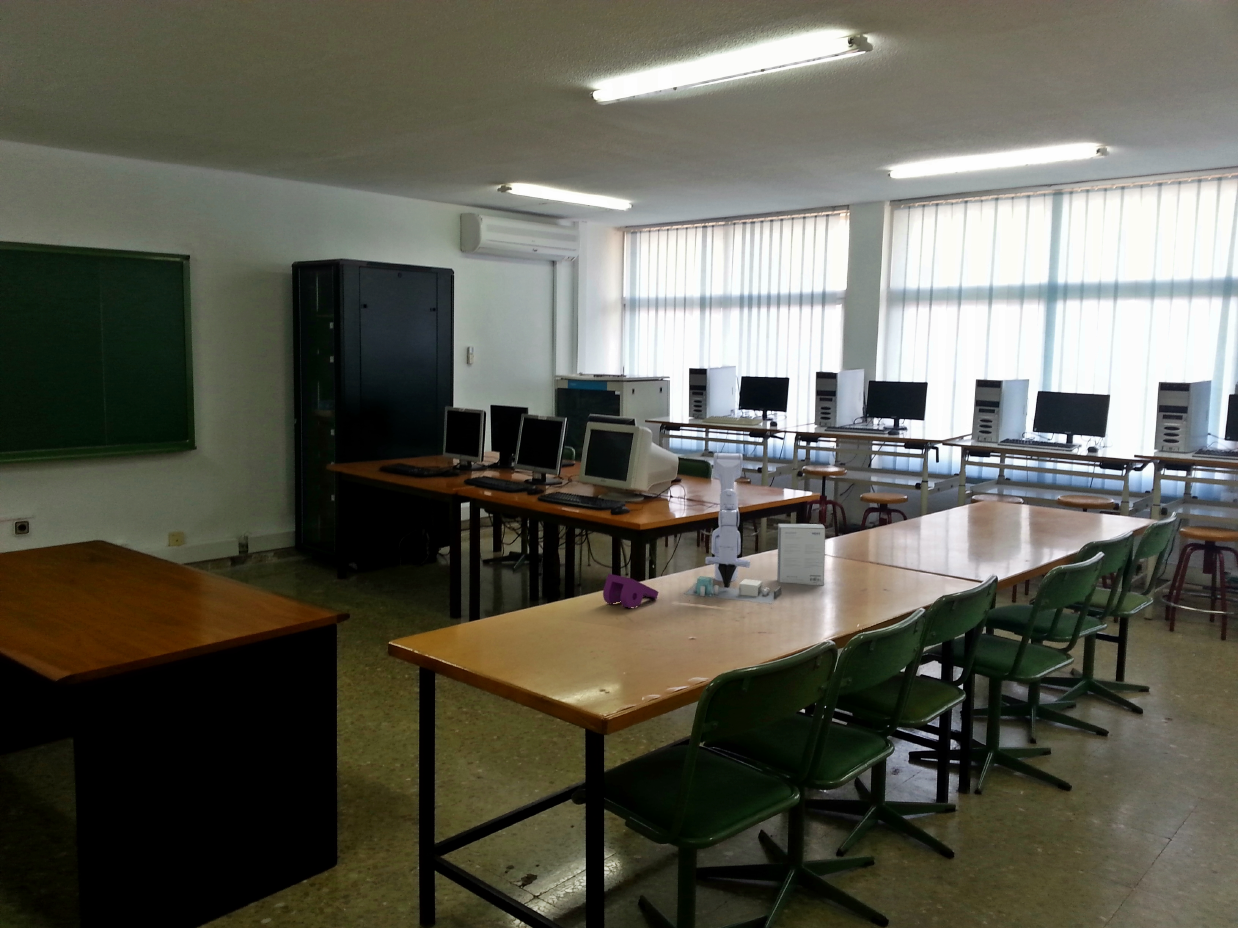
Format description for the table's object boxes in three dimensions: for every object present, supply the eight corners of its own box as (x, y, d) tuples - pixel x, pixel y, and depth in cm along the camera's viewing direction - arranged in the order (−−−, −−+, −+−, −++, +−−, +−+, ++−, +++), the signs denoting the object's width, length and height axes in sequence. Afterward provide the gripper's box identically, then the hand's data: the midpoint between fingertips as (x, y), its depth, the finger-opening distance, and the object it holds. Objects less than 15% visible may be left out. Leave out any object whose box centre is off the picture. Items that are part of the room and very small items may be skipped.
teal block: (700, 591, 304) (700, 576, 303) (712, 592, 302) (712, 577, 302) (696, 593, 300) (697, 578, 299) (708, 595, 298) (709, 579, 298)
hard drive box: (821, 580, 324) (823, 524, 322) (824, 586, 316) (826, 528, 314) (776, 579, 325) (778, 522, 323) (777, 584, 318) (779, 526, 316)
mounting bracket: (633, 614, 300) (600, 599, 287) (641, 589, 302) (608, 573, 289) (656, 620, 294) (623, 605, 281) (664, 594, 296) (631, 578, 283)
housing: (744, 589, 307) (744, 579, 306) (762, 591, 304) (762, 580, 304) (738, 594, 300) (739, 583, 300) (757, 596, 298) (757, 585, 298)
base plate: (697, 586, 313) (697, 575, 313) (781, 595, 303) (781, 584, 302) (683, 596, 300) (683, 585, 299) (770, 606, 289) (771, 594, 288)
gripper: (702, 546, 303) (701, 587, 304) (746, 550, 297) (745, 591, 299) (709, 542, 309) (708, 582, 311) (752, 546, 304) (750, 587, 305)
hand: (726, 586), depth 305 cm, fingers closed
